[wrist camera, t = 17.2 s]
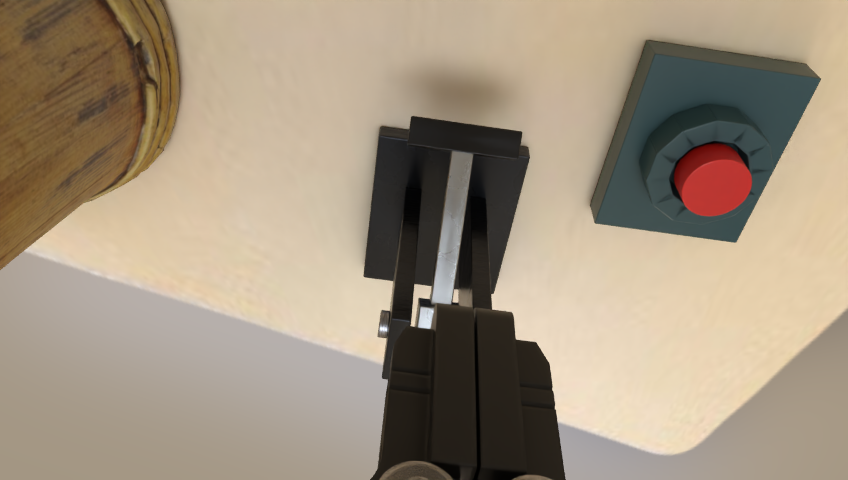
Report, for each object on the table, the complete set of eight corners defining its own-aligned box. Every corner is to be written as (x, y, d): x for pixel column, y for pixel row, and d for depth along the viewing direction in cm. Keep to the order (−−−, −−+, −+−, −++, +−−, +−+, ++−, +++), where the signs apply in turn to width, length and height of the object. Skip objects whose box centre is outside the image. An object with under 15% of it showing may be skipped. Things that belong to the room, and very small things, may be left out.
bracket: (380, 125, 41) (353, 259, 31) (528, 146, 41) (550, 285, 31) (365, 266, 48) (339, 415, 37) (493, 283, 48) (501, 434, 38)
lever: (410, 118, 36) (411, 114, 34) (516, 133, 36) (524, 130, 34) (380, 344, 37) (378, 356, 35) (482, 357, 37) (488, 369, 35)
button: (687, 138, 37) (696, 155, 35) (752, 147, 37) (764, 164, 35) (664, 194, 39) (671, 211, 37) (725, 203, 39) (735, 220, 38)
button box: (646, 39, 37) (663, 69, 34) (806, 63, 38) (838, 95, 34) (589, 205, 44) (599, 243, 41) (726, 224, 44) (746, 263, 41)
